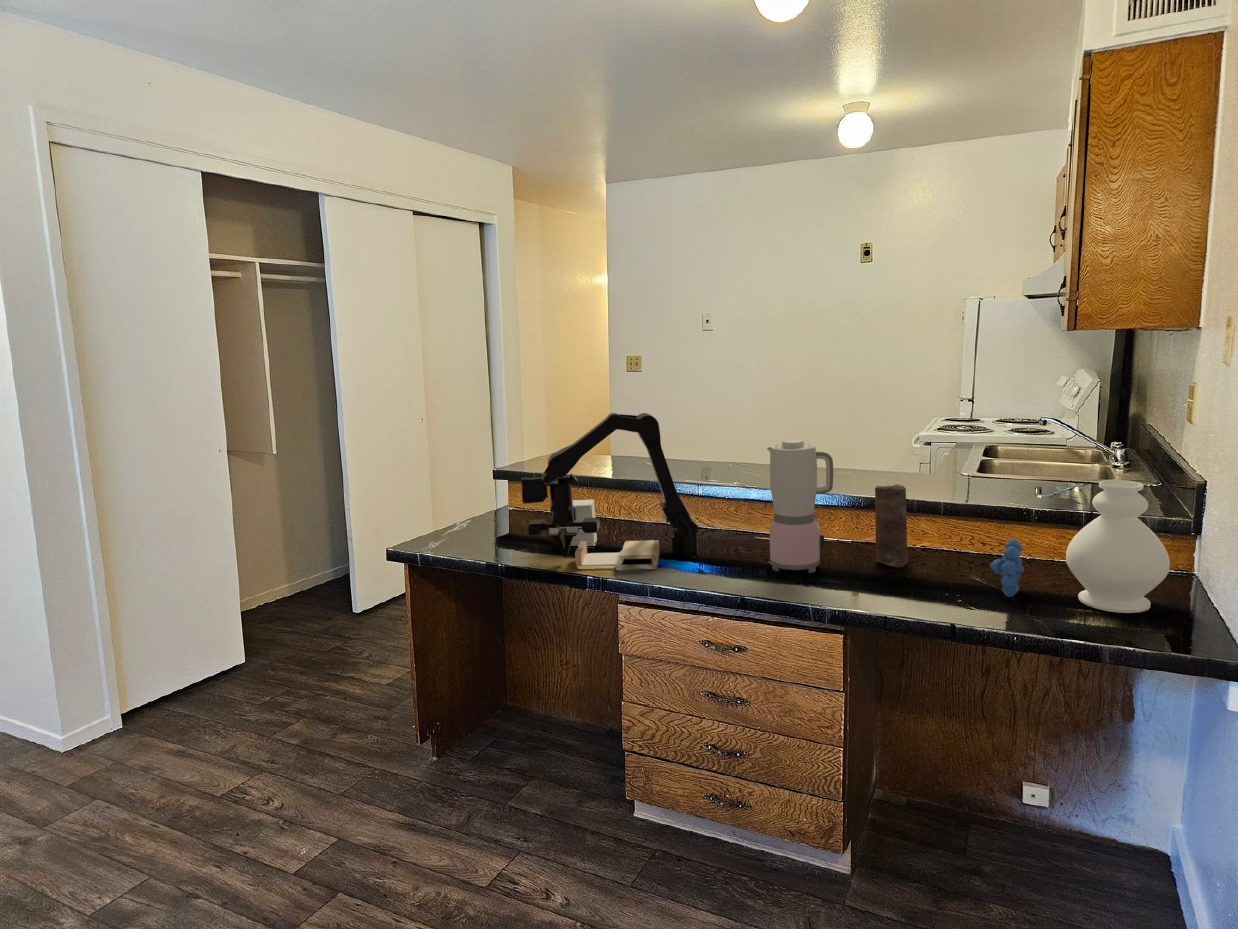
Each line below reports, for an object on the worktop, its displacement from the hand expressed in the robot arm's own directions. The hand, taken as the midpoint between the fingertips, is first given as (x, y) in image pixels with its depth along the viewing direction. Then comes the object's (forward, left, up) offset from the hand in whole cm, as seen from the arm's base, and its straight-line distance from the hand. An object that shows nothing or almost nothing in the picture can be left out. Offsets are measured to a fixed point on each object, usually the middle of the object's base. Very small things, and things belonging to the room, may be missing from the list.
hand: (566, 557), depth 204 cm
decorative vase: (-121, +34, -2) cm, 126 cm away
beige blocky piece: (-9, 0, -2) cm, 10 cm away
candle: (-83, +6, -2) cm, 83 cm away
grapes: (-102, +28, -2) cm, 106 cm away
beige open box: (-18, 0, -2) cm, 19 cm away
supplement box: (-2, -18, -2) cm, 18 cm away
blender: (-61, +7, -2) cm, 61 cm away
